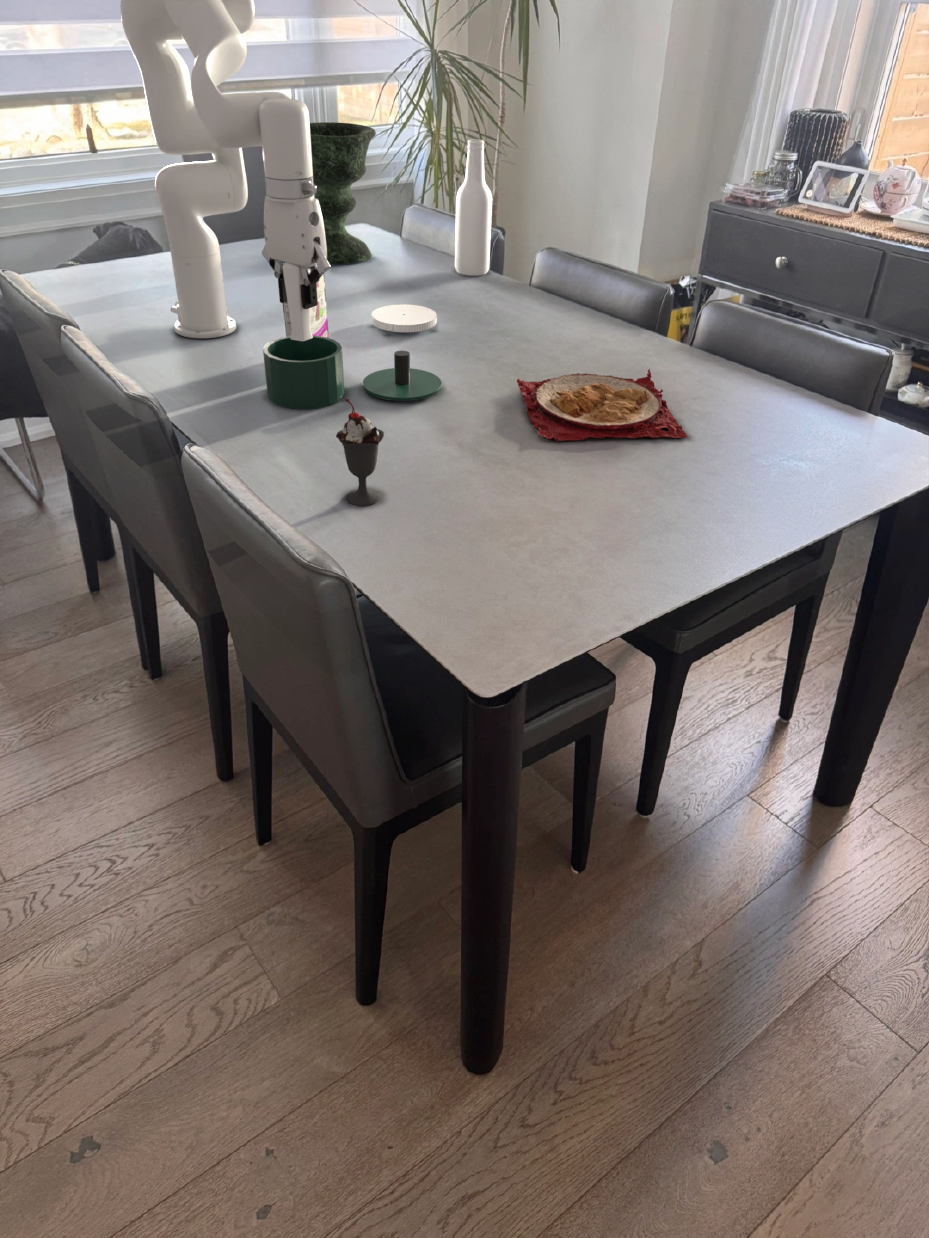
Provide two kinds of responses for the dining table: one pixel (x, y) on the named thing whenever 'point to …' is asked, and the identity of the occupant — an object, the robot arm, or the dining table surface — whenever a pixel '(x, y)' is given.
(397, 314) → the plastic lid
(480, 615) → the dining table surface
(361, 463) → the sundae
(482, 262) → the alcohol
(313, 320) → the candy bar box
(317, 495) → the dining table surface
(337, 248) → the goblet
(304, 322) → the perfume bottle
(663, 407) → the plate with food
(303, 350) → the tin
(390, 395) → the lid
